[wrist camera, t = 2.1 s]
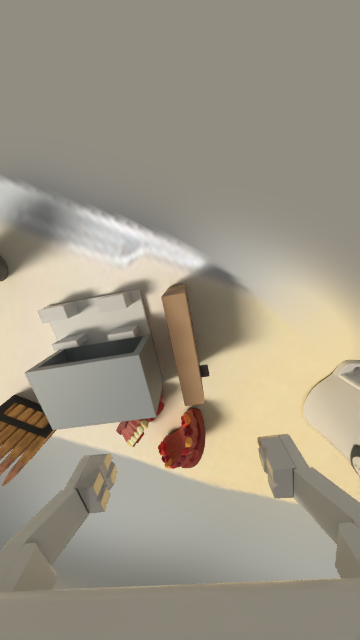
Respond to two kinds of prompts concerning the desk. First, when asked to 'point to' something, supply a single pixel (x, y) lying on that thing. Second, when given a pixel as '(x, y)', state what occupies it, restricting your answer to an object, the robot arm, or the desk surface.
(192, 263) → the desk surface
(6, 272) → the beverage cup
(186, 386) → the door
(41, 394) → the cabinet
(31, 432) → the ammunition clip
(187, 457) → the teeth
